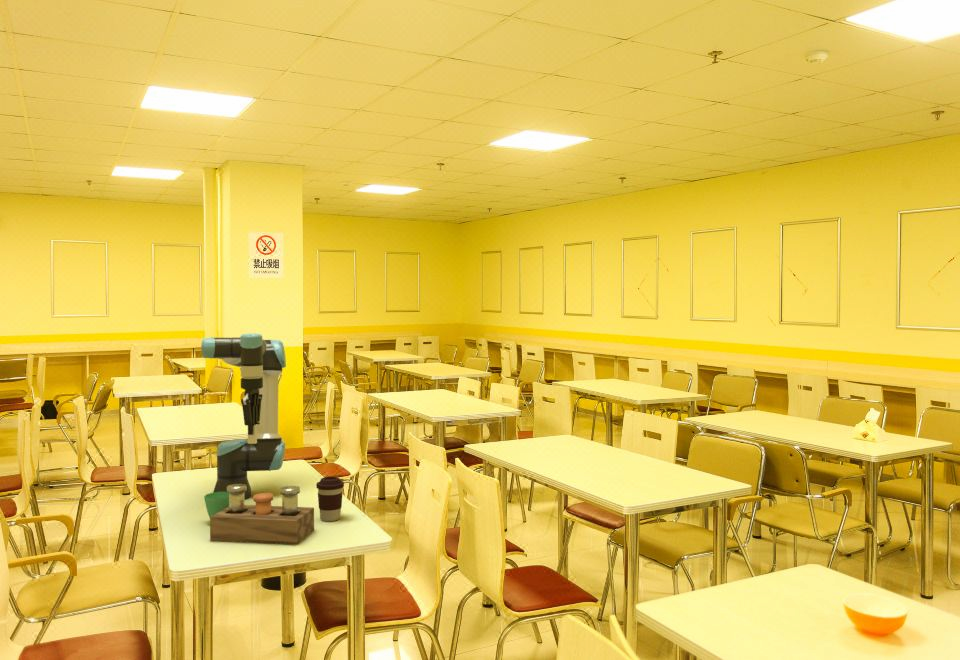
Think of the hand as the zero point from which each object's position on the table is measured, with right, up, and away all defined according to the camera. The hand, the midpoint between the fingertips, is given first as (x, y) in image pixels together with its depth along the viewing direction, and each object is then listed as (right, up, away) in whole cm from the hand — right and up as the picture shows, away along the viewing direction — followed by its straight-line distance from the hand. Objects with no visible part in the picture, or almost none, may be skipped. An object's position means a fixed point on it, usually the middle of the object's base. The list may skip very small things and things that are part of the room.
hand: (252, 443), depth 256 cm
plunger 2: (+17, -24, -12) cm, 31 cm away
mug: (-12, -30, +6) cm, 32 cm away
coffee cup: (+26, -30, +9) cm, 40 cm away
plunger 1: (-2, -24, -10) cm, 26 cm away
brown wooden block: (+7, -30, -11) cm, 32 cm away
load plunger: (+7, -27, -11) cm, 30 cm away
